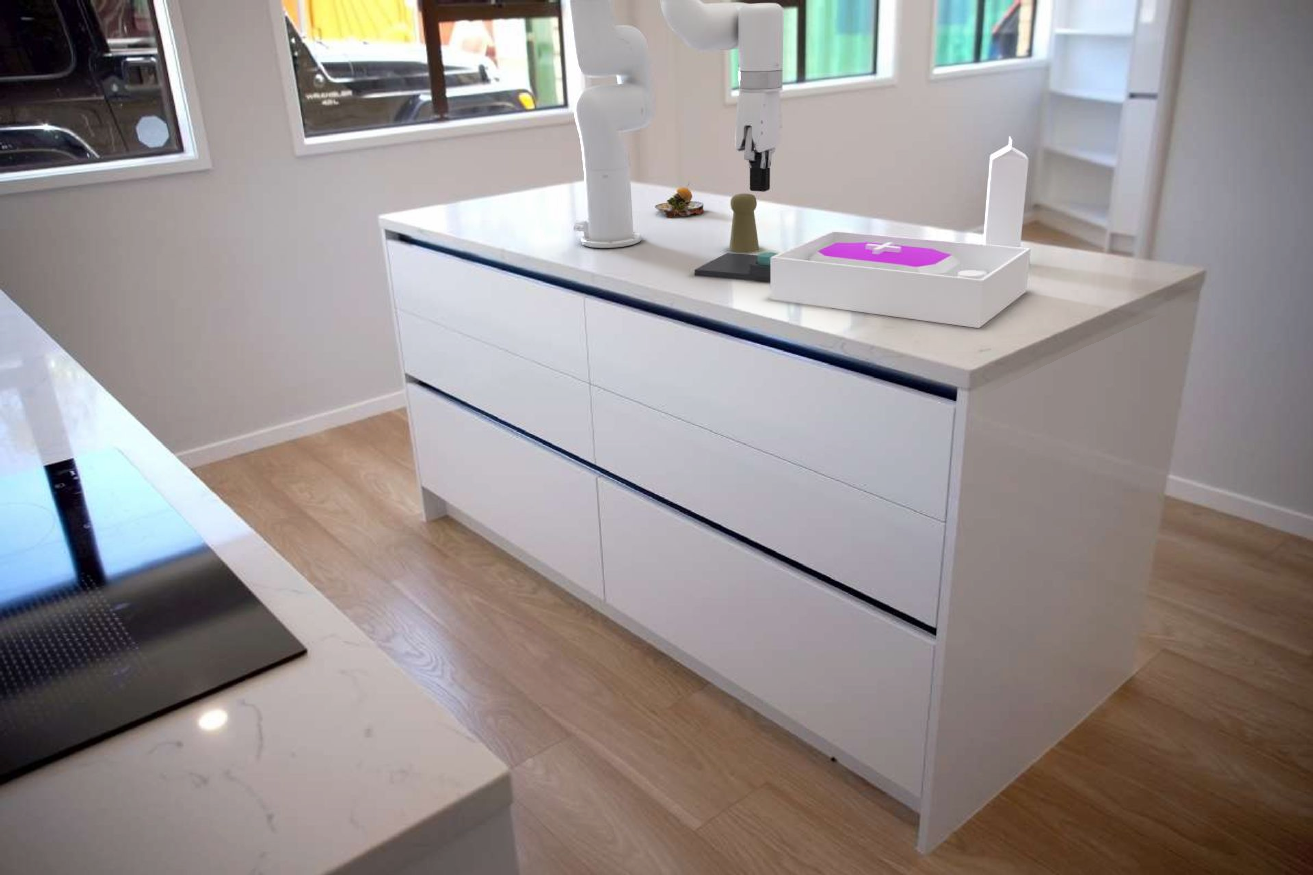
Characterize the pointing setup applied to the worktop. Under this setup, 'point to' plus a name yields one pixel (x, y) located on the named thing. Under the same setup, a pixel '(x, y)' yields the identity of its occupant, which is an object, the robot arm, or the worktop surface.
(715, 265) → the scale
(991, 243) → the milk
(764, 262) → the button
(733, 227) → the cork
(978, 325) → the white tray with pad
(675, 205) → the multicoloured piece
